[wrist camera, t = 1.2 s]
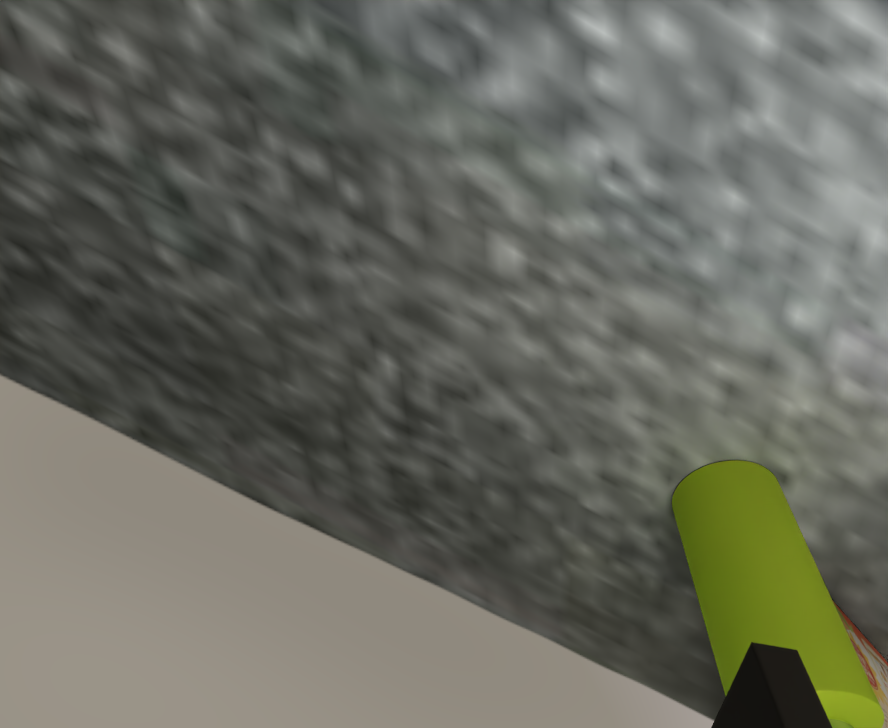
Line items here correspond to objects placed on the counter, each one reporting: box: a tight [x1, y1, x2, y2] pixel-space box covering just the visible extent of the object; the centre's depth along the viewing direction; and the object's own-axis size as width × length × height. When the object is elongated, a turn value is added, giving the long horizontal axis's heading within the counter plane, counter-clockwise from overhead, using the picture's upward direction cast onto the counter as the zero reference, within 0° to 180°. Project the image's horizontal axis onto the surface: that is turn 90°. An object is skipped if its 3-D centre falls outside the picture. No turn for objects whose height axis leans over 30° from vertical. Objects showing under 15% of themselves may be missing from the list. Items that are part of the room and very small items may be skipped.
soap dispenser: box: [672, 460, 884, 728], centre depth 33 cm, size 6×7×20 cm
